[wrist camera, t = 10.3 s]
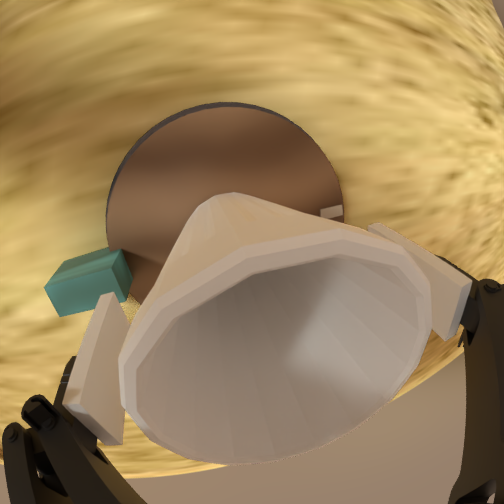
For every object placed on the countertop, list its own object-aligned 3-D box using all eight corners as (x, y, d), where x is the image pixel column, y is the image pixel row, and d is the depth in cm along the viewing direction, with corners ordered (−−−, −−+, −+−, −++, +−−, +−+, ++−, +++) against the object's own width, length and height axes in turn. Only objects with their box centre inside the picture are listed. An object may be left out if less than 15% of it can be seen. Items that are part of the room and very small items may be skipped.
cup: (193, 136, 16) (203, 134, 4) (324, 202, 19) (472, 298, 8) (136, 273, 18) (100, 446, 7) (260, 314, 22) (322, 461, 10)
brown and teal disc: (35, 170, 15) (3, 182, 11) (321, 95, 17) (353, 89, 13) (114, 351, 22) (106, 386, 18) (338, 293, 25) (362, 319, 21)
